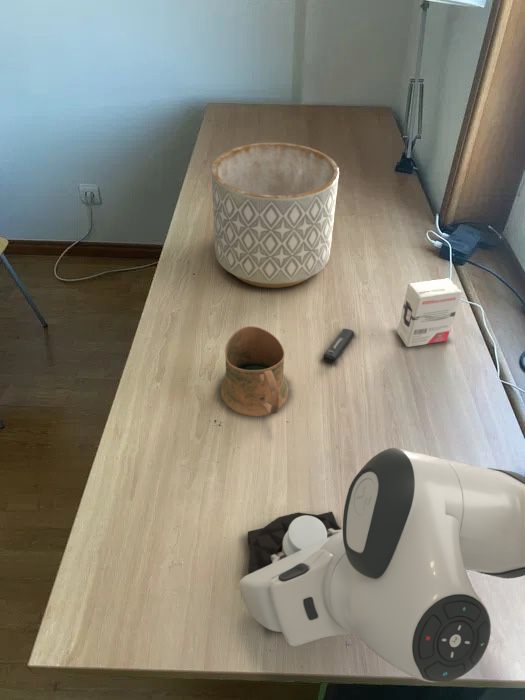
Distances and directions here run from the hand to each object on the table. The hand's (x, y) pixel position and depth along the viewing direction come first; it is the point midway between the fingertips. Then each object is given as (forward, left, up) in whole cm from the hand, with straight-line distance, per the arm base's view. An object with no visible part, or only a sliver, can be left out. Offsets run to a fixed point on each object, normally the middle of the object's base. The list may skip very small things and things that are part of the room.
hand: (302, 547), depth 71 cm
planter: (+70, -16, -5) cm, 73 cm away
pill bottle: (-1, 0, -5) cm, 5 cm away
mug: (+29, -2, -5) cm, 30 cm away
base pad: (-1, 0, -5) cm, 5 cm away
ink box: (+38, -37, -5) cm, 54 cm away
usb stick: (+39, -20, -5) cm, 45 cm away
